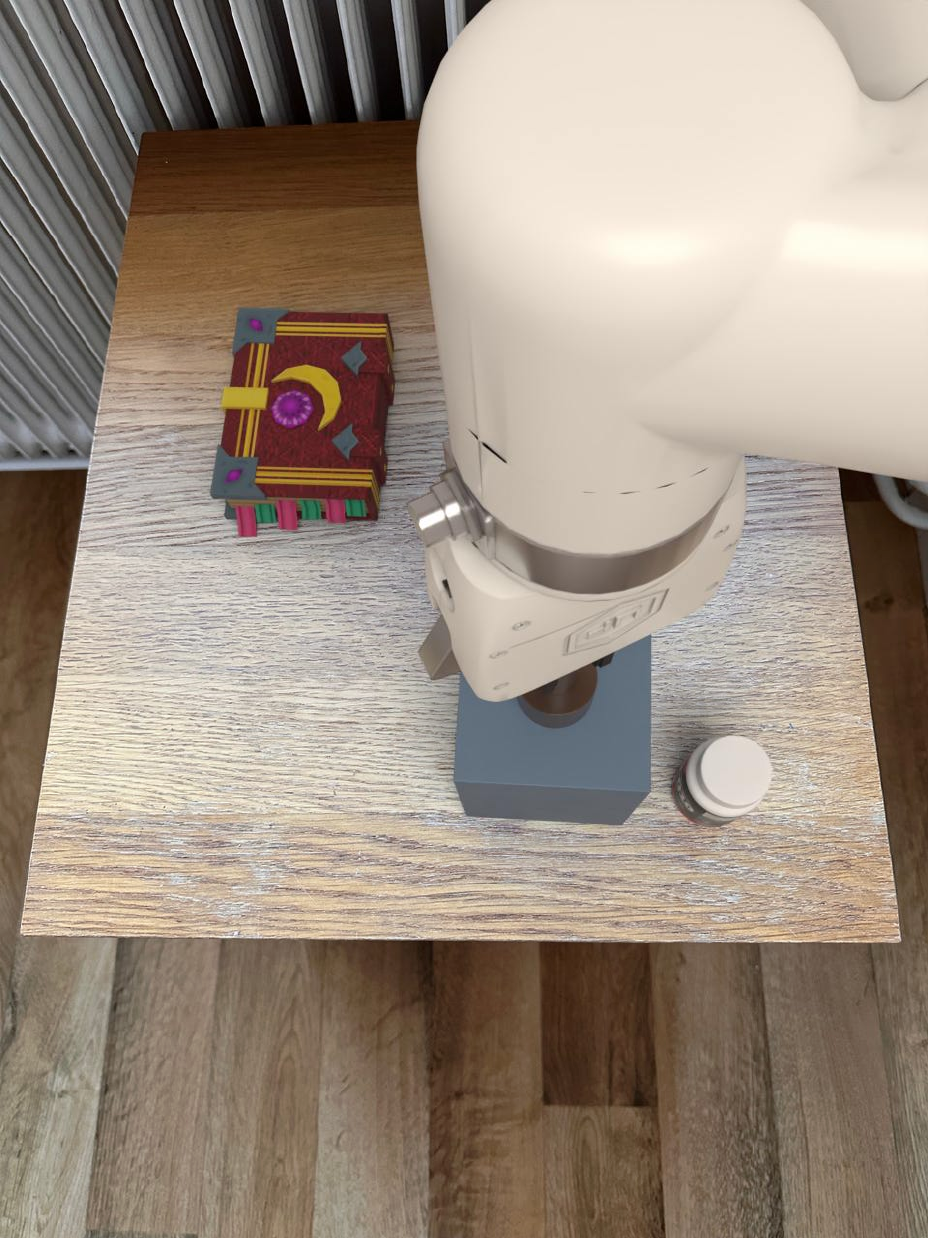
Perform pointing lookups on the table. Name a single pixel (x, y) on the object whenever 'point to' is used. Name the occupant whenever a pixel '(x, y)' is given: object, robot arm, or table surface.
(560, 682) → the brown wooden handle
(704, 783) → the pill bottle
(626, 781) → the stand
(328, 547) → the table surface
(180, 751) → the table surface
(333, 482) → the decorative book
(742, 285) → the robot arm
